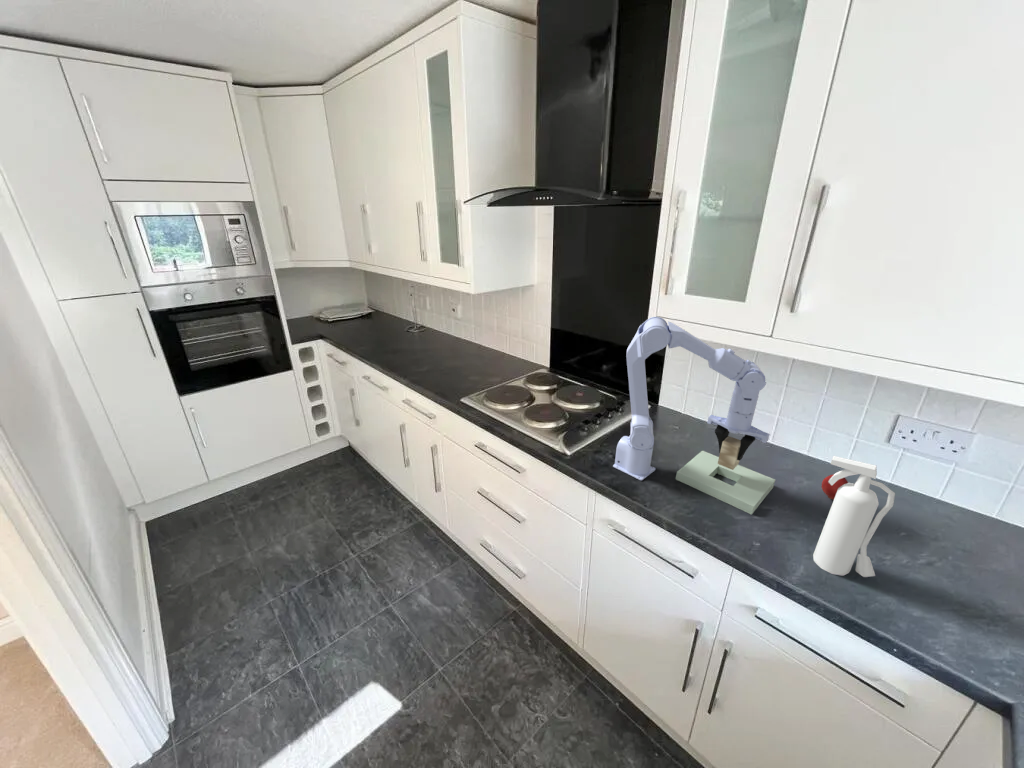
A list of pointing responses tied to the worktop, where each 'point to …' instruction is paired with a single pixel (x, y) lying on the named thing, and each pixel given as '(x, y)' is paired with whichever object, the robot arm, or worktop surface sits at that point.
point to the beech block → (729, 452)
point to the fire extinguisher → (851, 520)
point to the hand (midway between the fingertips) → (730, 455)
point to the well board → (740, 495)
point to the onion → (832, 486)
